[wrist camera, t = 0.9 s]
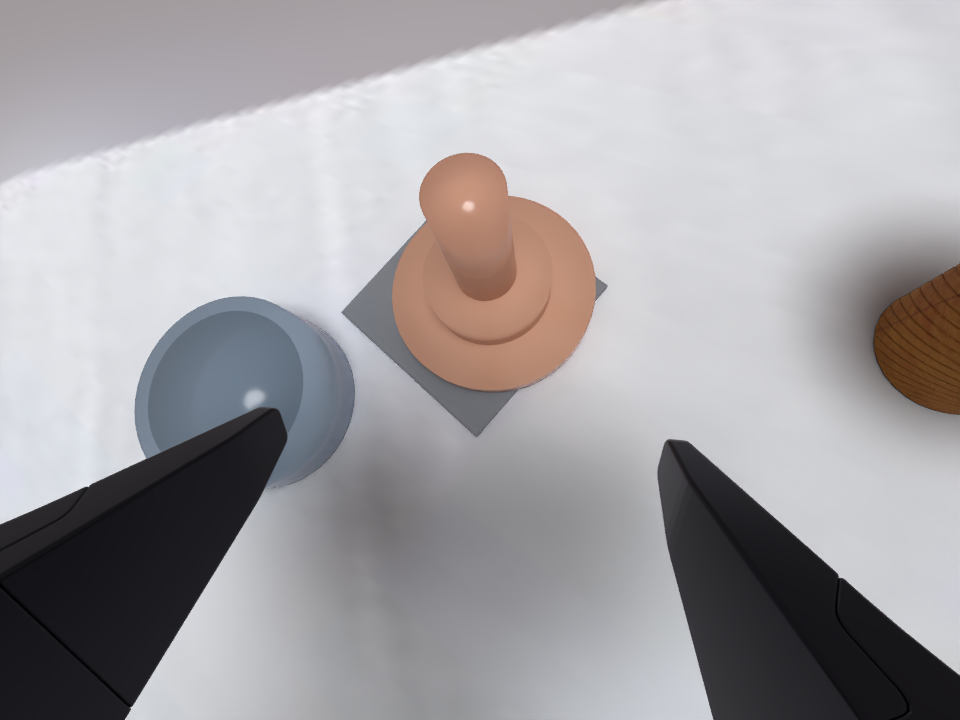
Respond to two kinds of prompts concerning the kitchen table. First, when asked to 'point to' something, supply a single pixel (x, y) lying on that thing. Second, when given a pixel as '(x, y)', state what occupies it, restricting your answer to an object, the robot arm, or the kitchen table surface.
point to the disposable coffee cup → (924, 343)
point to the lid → (490, 281)
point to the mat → (379, 325)
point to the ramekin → (247, 381)
